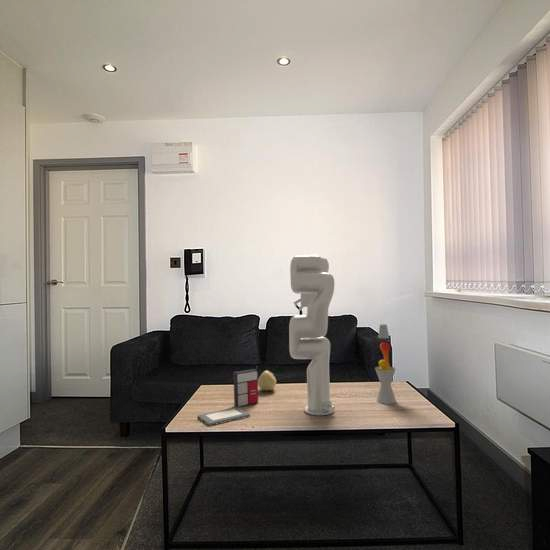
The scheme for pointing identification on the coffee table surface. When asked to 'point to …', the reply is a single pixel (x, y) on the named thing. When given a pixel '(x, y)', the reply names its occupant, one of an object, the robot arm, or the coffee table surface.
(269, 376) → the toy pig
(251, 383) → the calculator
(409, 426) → the coffee table surface
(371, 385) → the coffee table surface
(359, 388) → the coffee table surface
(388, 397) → the lava lamp
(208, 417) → the slate picture frame
